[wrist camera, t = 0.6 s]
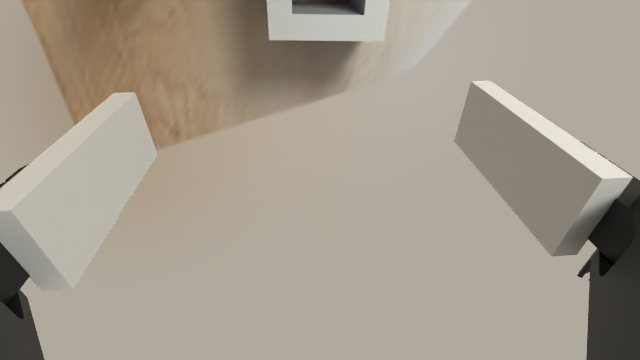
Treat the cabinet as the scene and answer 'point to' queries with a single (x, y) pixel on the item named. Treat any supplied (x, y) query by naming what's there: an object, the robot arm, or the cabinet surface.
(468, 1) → the cabinet surface
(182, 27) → the cabinet surface
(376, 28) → the socket block
